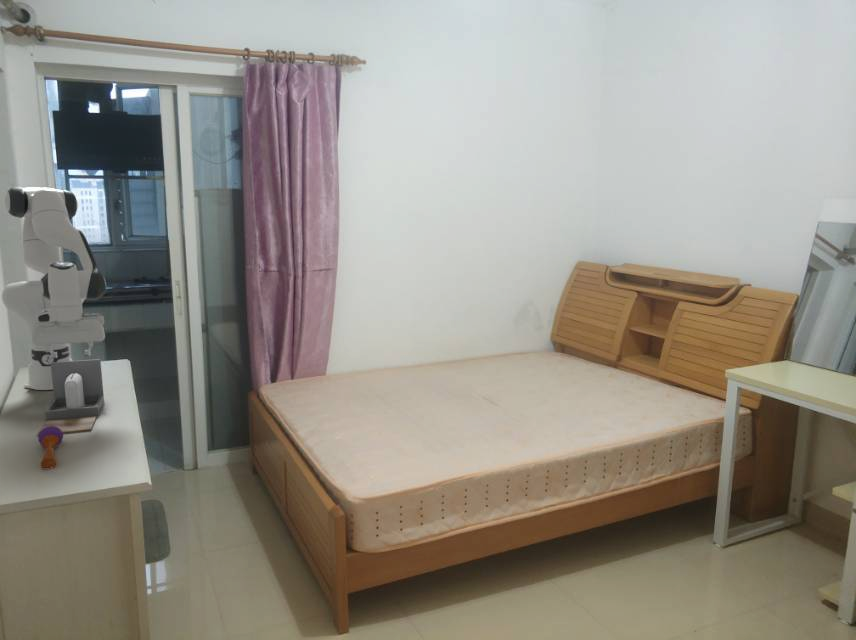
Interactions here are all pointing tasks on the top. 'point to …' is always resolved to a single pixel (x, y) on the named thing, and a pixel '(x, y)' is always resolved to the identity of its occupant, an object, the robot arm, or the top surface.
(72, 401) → the photo printer
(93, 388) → the equipment case
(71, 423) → the walnut board
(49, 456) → the maraca
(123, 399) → the top surface
